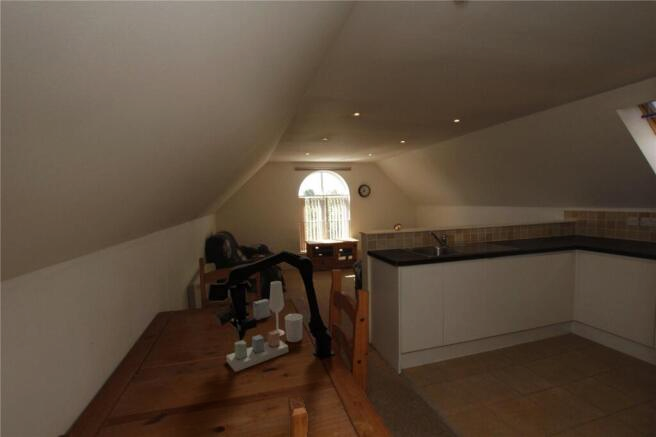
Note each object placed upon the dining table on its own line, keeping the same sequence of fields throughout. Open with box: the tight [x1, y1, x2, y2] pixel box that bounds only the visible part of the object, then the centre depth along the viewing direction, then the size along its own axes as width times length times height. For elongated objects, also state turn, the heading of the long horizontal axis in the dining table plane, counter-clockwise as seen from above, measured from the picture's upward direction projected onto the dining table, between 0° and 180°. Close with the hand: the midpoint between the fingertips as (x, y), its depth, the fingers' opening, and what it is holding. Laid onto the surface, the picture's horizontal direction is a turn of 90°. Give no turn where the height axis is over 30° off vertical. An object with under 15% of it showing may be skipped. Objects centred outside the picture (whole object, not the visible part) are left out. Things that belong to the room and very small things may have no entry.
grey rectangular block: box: [251, 334, 265, 353], centre depth 116 cm, size 3×3×5 cm
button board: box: [226, 339, 289, 373], centre depth 116 cm, size 9×22×2 cm, turn 128°
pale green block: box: [234, 339, 248, 359], centre depth 111 cm, size 3×3×5 cm
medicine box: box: [252, 298, 271, 321], centre depth 157 cm, size 8×4×9 cm, turn 133°
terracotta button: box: [267, 329, 281, 347], centre depth 120 cm, size 3×3×5 cm
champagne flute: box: [269, 280, 286, 337], centre depth 136 cm, size 7×7×24 cm
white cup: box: [284, 313, 304, 343], centre depth 131 cm, size 8×8×10 cm
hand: (240, 340), depth 111 cm, fingers closed
